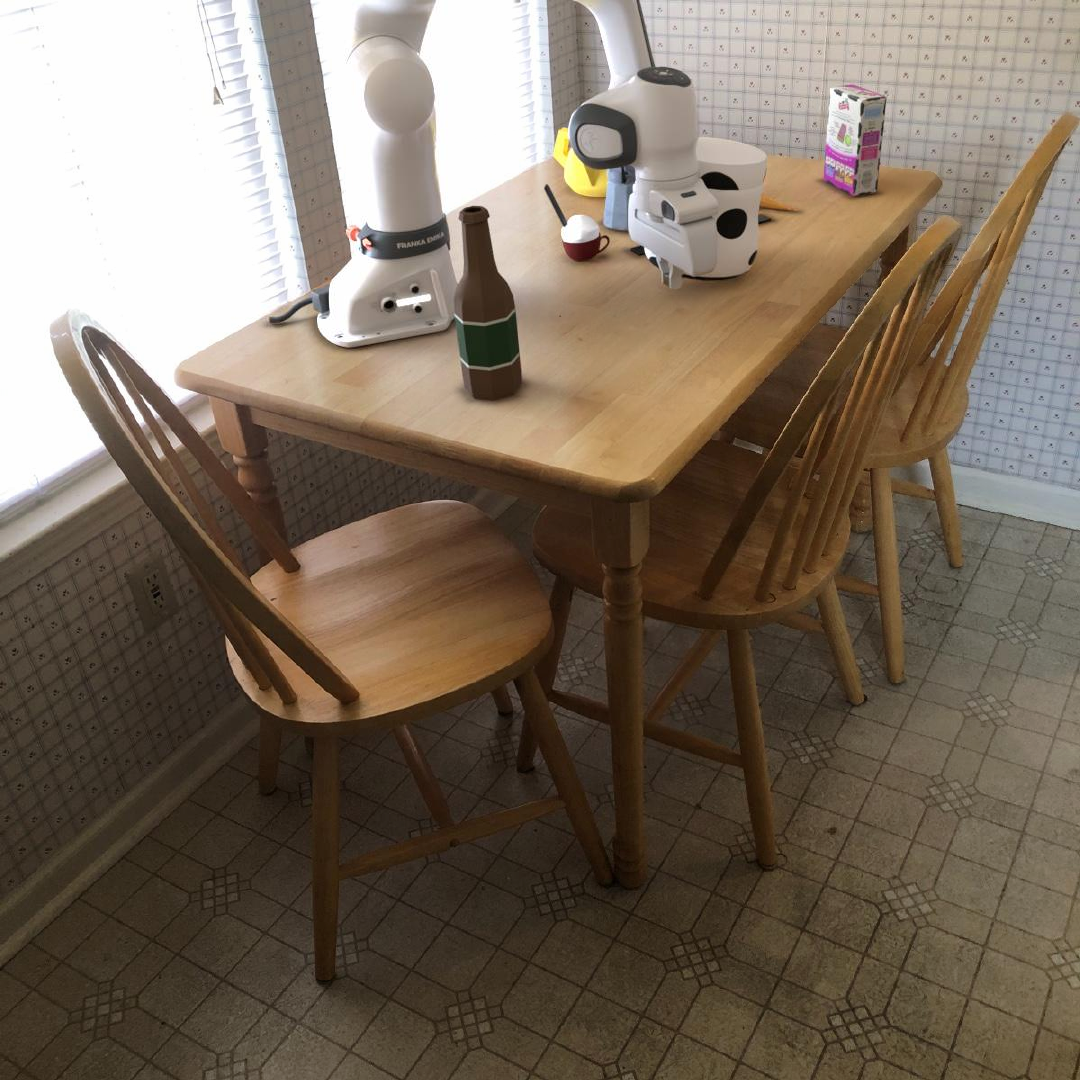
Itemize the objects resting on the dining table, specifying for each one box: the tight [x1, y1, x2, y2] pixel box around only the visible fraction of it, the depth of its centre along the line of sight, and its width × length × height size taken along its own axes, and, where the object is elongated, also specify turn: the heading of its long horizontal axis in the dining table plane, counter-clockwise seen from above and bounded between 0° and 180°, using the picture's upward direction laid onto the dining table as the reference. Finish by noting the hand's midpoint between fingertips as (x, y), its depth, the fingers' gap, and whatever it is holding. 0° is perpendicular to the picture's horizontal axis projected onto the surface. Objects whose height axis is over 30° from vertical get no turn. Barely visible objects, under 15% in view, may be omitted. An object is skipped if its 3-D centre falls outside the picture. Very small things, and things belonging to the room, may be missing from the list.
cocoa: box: [543, 183, 611, 262], centre depth 180 cm, size 10×6×12 cm, turn 55°
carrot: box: [759, 194, 798, 211], centre depth 197 cm, size 20×4×4 cm, turn 53°
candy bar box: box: [822, 84, 888, 197], centre depth 196 cm, size 11×5×16 cm, turn 17°
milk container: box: [644, 136, 768, 282], centre depth 168 cm, size 17×17×18 cm
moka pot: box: [602, 165, 636, 232], centre depth 188 cm, size 10×15×20 cm, turn 174°
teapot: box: [552, 126, 608, 198], centre depth 209 cm, size 17×17×12 cm
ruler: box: [629, 213, 772, 257], centre depth 187 cm, size 26×3×1 cm, turn 116°
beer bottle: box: [454, 205, 523, 402], centre depth 141 cm, size 8×8×24 cm
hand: (671, 285), depth 164 cm, fingers closed
